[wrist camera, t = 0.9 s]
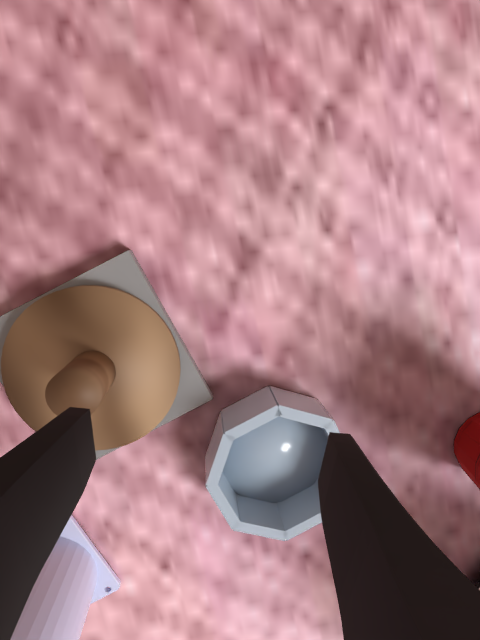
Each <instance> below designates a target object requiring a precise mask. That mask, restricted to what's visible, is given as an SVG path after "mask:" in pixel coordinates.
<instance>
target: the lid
mask: <svg viewBox="0 0 480 640" xmlns="http://www.w3.org/2000/svg"><path fill="white" fill-rule="evenodd" d="M180 371H181V368H180V356H179V351H178V347H177V344H176V341H175V338H174V336H173V334H172V332H171V330H170V329H169V327H168V326H167V324H166V323H165V321H164V320H163V319H162V318H161V316H160V315H159V314H158V313H157V312H156V311H155V310H154V309H153V308H152V307H150V306H149V305H148V304H147V303H145V302H144V301H142V300H141V299H139V298H137V297H136V296H134V295H132V294H130V293H127V292H125V291H122V290H119V289H116V288H112V287H107V286H99V285H81V286H74V287H69V288H65V289H62V290H58V291H55V292H53V293H51V294H48V295H46V296H44V297H42V298H41V299H39V300H37V301H36V302H34V303H33V304H31V305H30V306H29V307H28V308H27V309H25V310H24V311H23V313H22V314H21V315H20V316H19V317H18V318H17V319H16V321H15V322H14V324H13V325H12V327H11V328H10V330H9V333H8V335H7V337H6V339H5V343H4V346H3V350H2V356H1V374H2V381H3V385H4V388H5V391H6V394H7V396H8V398H9V400H10V403H11V404H12V406H13V407H14V409H15V411H16V412H17V413H18V414H19V416H20V417H21V418H22V419H23V421H25V422H26V423H27V424H28V425H29V426H30V427H31V428H32V429H33V430H35V431H36V432H37V431H38V430H39V429H41V428H42V427H43V426H45V425H46V424H47V423H49V422H50V421H51V420H53V419H54V418H55V417H57V416H58V415H59V414H61V413H62V412H63V411H65V410H66V409H68V408H69V407H76V408H86V409H90V413H91V421H92V429H93V437H94V445H95V450H108V449H113V448H118V447H121V446H124V445H127V444H130V443H132V442H134V441H136V440H138V439H140V438H142V437H143V436H145V435H146V434H148V433H149V432H150V431H151V430H153V429H154V428H155V427H156V426H157V425H158V424H159V423H160V422H161V421H162V420H163V418H164V417H165V416H166V414H167V413H168V411H169V410H170V408H171V406H172V404H173V402H174V399H175V397H176V394H177V390H178V386H179V381H180Z"/></svg>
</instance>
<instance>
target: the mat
mask: <svg viewBox="0 0 480 640" xmlns="http://www.w3.org/2000/svg"><path fill="white" fill-rule="evenodd" d="M81 285H99V286H107V287H112V288H116V289H119V290H122V291H125V292H127V293H130V294H132V295H134V296H136V297H137V298H139V299H141V300H142V301H144V302H145V303H147V304H148V305H149V306H150V307H152V308H153V309H154V310H155V311H156V312H157V313H158V314H159V315H160V316H161V318H162V319H163V320H164V321H165V323H166V324H167V326H168V327H169V329H170V330H171V332H172V334H173V336H174V338H175V341H176V344H177V347H178V351H179V356H180V368H181V371H180V381H179V386H178V390H177V394H176V397H175V399H174V402H173V404H172V406H171V408H170V410H169V411H168V413H167V414H166V416H165V417H164V418H163V420H162V421H161V422H160V423H159V424H158V425H157V426H156V427H155V428H154V429H156V428H158V427H160V426H162V425H164V424H166V423H168V422H170V421H172V420H174V419H176V418H178V417H180V416H181V415H183V414H185V413H187V412H189V411H191V410H193V409H195V408H197V407H199V406H201V405H203V404H205V403H207V402H208V401H210V400H212V399H213V394H212V392H211V390H210V388H209V387H208V385H207V383H206V381H205V380H204V378H203V376H202V374H201V373H200V371H199V369H198V367H197V365H196V364H195V362H194V360H193V358H192V357H191V355H190V353H189V351H188V350H187V348H186V346H185V344H184V342H183V341H182V339H181V337H180V335H179V334H178V332H177V330H176V328H175V327H174V325H173V323H172V321H171V320H170V318H169V316H168V314H167V312H166V311H165V309H164V307H163V305H162V304H161V302H160V300H159V298H158V297H157V295H156V293H155V291H154V289H153V288H152V286H151V284H150V282H149V281H148V279H147V277H146V275H145V274H144V272H143V270H142V268H141V266H140V265H139V263H138V261H137V259H136V258H135V256H134V254H133V252H132V251H131V250H128V251H126V252H124V253H122V254H120V255H118V256H116V257H114V258H112V259H110V260H108V261H106V262H105V263H103V264H101V265H99V266H97V267H95V268H93V269H91V270H89V271H87V272H85V273H83V274H81V275H79V276H77V277H75V278H74V279H72V280H70V281H68V282H66V283H64V284H62V285H60V286H58V287H56V288H54V289H52V290H50V291H48V292H46V293H45V294H43V295H41V296H39V297H37V298H35V299H33V300H31V301H29V302H27V303H25V304H23V305H21V306H19V307H17V308H15V309H14V310H12V311H10V312H8V313H6V314H4V315H2V316H0V382H1V383H2V385H3V381H2V374H1V356H2V350H3V346H4V343H5V339H6V337H7V335H8V333H9V330H10V328H11V327H12V325H13V324H14V322H15V321H16V319H17V318H18V317H19V316H20V315H21V314H22V313H23V311H24V310H25V309H27V308H28V307H29V306H30V305H31V304H33V303H34V302H36V301H37V300H39V299H41V298H42V297H44V296H46V295H48V294H51V293H53V292H55V291H58V290H62V289H65V288H69V287H74V286H81ZM3 386H4V385H3ZM154 429H153V430H154ZM151 431H152V430H151ZM151 431H150V432H151ZM121 447H122V446H121ZM118 448H120V447H118ZM118 448H113V449H108V450H95V453H96V460H97V459H98V458H100V457H102V456H104V455H106V454H108V453H110V452H112V451H114V450H116V449H118Z"/></svg>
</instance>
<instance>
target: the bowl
mask: <svg viewBox="0 0 480 640" xmlns="http://www.w3.org/2000/svg"><path fill="white" fill-rule="evenodd" d="M329 432H333V433H340V432H339V430H338V428H337V426H336V424H335V422H334V420H333V419H332V417H331V416H330V415H329V413H328V412H327V411H326V409H325V408H324V407H323V405H322V404H321V403H320V402H319V400H318V399H316V398H312V397H309V396H305V395H302V394H298V393H294V392H291V391H287V390H283V389H280V388H276V387H273V386H269V387H268V386H267V387H265V388H263V389H261V390H259V391H257V392H255V393H253V394H251V395H249V396H247V397H245V398H243V399H241V400H240V401H238V402H236V403H234V404H232V405H230V406H228V407H226V408H224V409H222V411H220V414H219V417H218V420H217V423H216V426H215V429H214V432H213V435H212V438H211V441H210V444H209V447H208V450H207V453H206V455H205V478H206V488H207V490H208V491H209V493H210V495H211V496H212V498H213V499H214V501H215V503H216V504H217V506H218V508H219V509H220V511H221V512H222V514H223V516H224V517H225V519H226V521H227V522H228V524H229V526H230V527H231V529H233V531H238V532H243V533H248V534H253V535H258V536H263V537H267V538H272V539H277V540H282V541H285V540H286V541H287V540H289V539H291V538H293V537H295V536H297V535H299V534H301V533H303V532H305V531H307V530H308V529H310V528H312V527H314V526H316V525H318V524H320V523H322V519H321V512H320V502H319V490H318V478H319V474H320V470H321V466H322V461H323V457H324V453H325V449H326V445H327V441H328V436H329Z"/></svg>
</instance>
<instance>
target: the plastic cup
mask: <svg viewBox="0 0 480 640" xmlns="http://www.w3.org/2000/svg"><path fill="white" fill-rule="evenodd" d="M454 453H455V456H456V458H457V460H458V462H459V463H460V465H461V467H462V469H463V470H464V471H465V472H466V474H467V475H468V476H469V477H470V478H471V480H472V481H473V482H474V483H475V484H476V485H477V487H478V488H479V489H480V412H479V413H477V414H476V415H474V416H472V417H470V418H468V419H467V420H466V422H465V423H464V424H463V425H462V426H461V427H460V428H459V430H458V432H457V435H456V437H455V440H454Z"/></svg>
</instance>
